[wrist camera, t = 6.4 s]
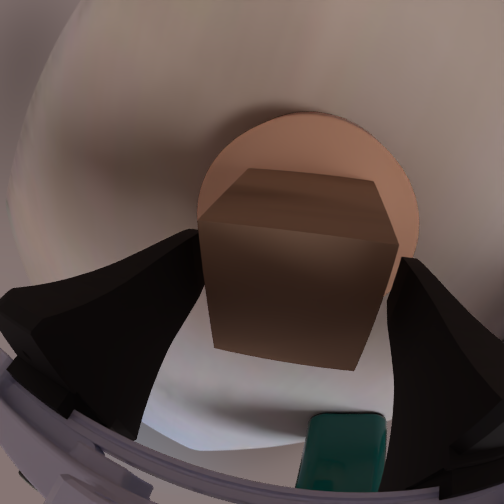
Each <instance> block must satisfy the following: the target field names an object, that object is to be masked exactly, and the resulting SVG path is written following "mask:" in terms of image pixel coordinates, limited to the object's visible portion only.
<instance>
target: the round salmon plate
mask: <svg viewBox="0 0 504 504" xmlns="http://www.w3.org/2000/svg"><path fill="white" fill-rule="evenodd" d="M248 168H255V169H270V170H283V171H294V172H305V173H314V174H324V175H332V176H340V177H348V178H355V179H362V180H369V181H374V183H375V185H376V188H377V190H378V192H379V195H380V197H381V199H382V202H383V204H384V206H385V209H386V211H387V214H388V216H389V219H390V221H391V224H392V227H393V229H394V232H395V235H396V237H397V240H398V243H399V248H398V251H397V255H396V258H395V262H394V265H393V269H392V272H391V275H390V278H389V282H388V285H387V288H386V291H385V294H384V296H385V295H386V294H387V293H388V292H389V291H390V290H391V288H392V285H393V282H394V279H395V276H396V273H397V270H398V267H399V264H400V260H401V257H409V258H413V255H414V252H415V249H416V245H417V241H418V234H419V212H418V206H417V202H416V197H415V194H414V191H413V189H412V186H411V183H410V181H409V179H408V177H407V176H406V174H405V172H404V170H403V169H402V167H401V166H400V165H399V163H398V162H397V161H396V159H395V158H394V157H393V156H392V154H391V153H390V152H389V151H388V150H387V149H386V148H385V147H384V146H383V145H382V144H381V143H380V142H379V141H378V140H377V139H376V138H374V137H373V136H372V135H371V134H370V133H369V132H367V131H366V130H364V129H363V128H361V127H360V126H358V125H357V124H355V123H353V122H351V121H349V120H347V119H344V118H341V117H338V116H335V115H332V114H326V113H320V112H297V113H290V114H286V115H282V116H279V117H276V118H274V119H271V120H269V121H267V122H264V123H262V124H260V125H258V126H256V127H254V128H252V129H250V130H248V131H246V132H245V133H243V134H242V135H240V136H239V137H237V138H236V139H234V140H233V141H232V142H231V143H230V144H229V145H227V146H226V147H225V148H224V149H223V150H222V152H221V153H220V154H219V155H218V156H217V157H216V159H215V160H214V161H213V163H212V165H211V166H210V168H209V170H208V171H207V173H206V176H205V178H204V180H203V183H202V186H201V189H200V193H199V197H198V206H197V220H198V219H199V218H200V217H201V216H202V215H203V214H204V213H205V212H206V211H207V210H208V209H209V207H210V206H211V205H212V204H213V203H214V202H215V201H216V200H217V199H218V198H219V197H220V196H221V195H222V194H223V193H224V192H225V191H226V190H227V189H228V188H229V187H230V186H231V185H232V184H233V183H234V182H235V181H236V180H237V179H238V178H239V177H240V176H241V175H242V174H243V173H244V172H245V171H246V170H247V169H248Z"/></svg>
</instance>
